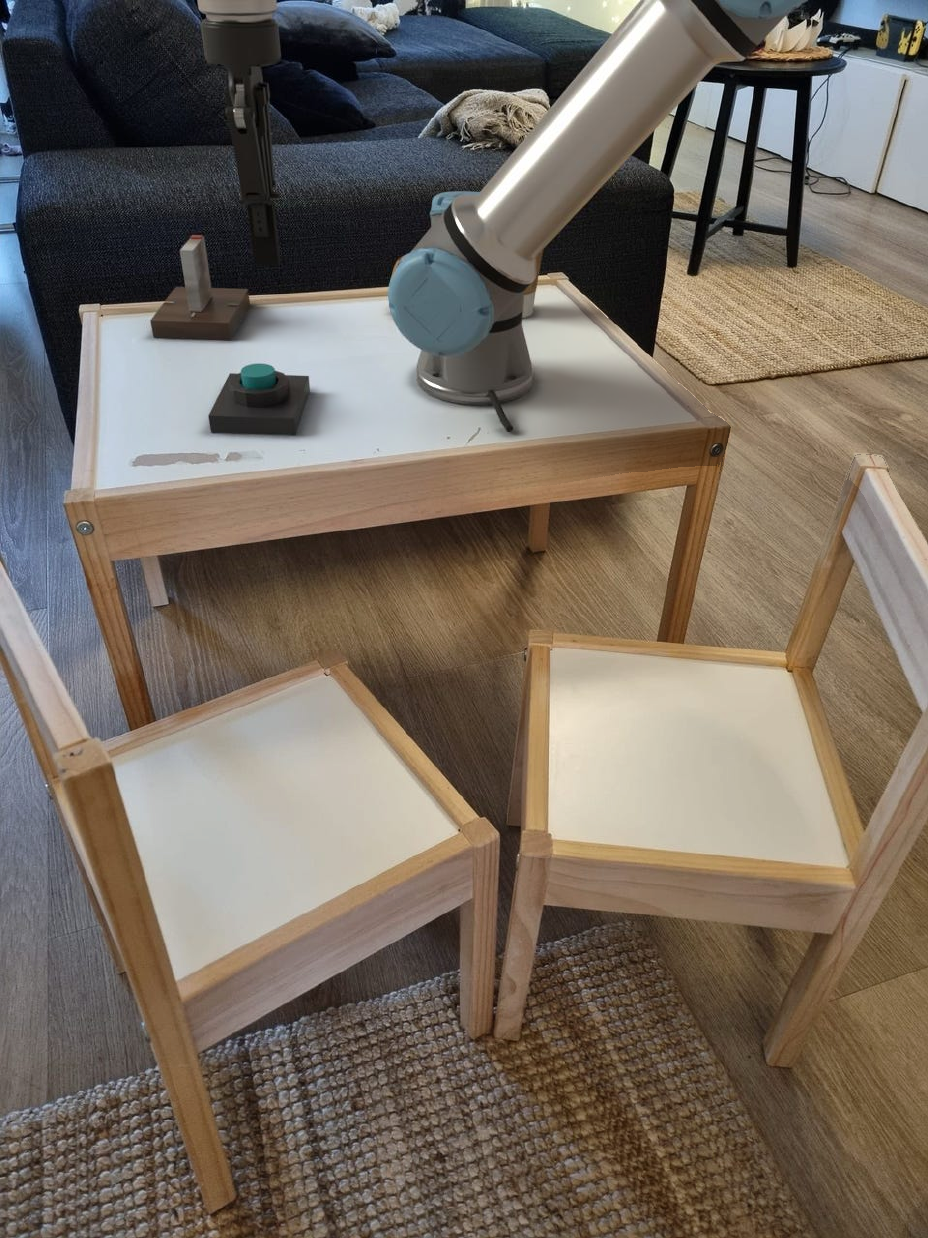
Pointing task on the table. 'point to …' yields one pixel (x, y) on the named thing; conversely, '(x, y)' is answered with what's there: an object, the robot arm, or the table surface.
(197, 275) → the grey flat upright block
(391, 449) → the table surface
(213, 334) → the panel
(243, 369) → the button
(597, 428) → the table surface
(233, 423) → the button block
